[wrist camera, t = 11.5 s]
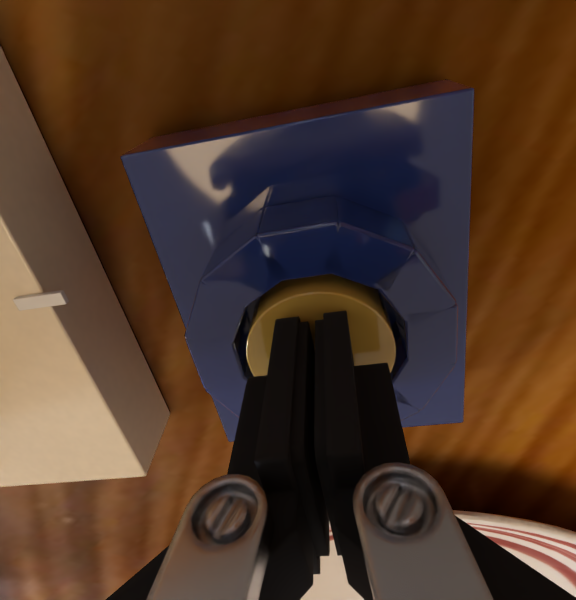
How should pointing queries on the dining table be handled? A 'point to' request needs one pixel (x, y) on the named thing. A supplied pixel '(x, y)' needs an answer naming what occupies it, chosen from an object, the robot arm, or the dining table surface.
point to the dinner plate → (501, 529)
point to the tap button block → (321, 229)
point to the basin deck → (61, 330)
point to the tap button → (311, 306)
